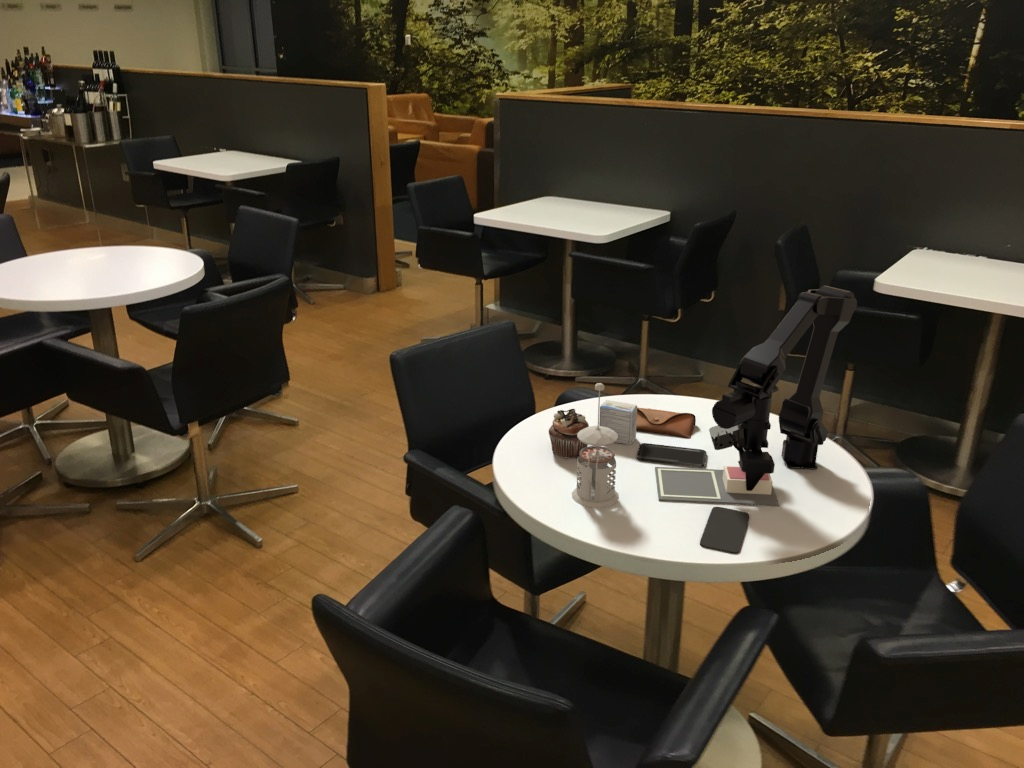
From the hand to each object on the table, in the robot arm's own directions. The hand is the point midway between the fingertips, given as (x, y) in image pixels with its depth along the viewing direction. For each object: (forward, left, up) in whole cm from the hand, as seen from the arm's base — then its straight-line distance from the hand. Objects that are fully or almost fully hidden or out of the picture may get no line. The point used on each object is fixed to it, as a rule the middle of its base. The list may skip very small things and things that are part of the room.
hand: (746, 482), depth 176 cm
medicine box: (+26, -21, -2) cm, 34 cm away
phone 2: (+14, -13, -2) cm, 20 cm away
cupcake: (+37, -14, -2) cm, 40 cm away
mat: (+6, 0, -1) cm, 7 cm away
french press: (+31, +7, -1) cm, 32 cm away
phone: (+6, +17, -2) cm, 18 cm away
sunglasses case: (+17, -28, -2) cm, 33 cm away
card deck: (0, 0, -1) cm, 1 cm away
